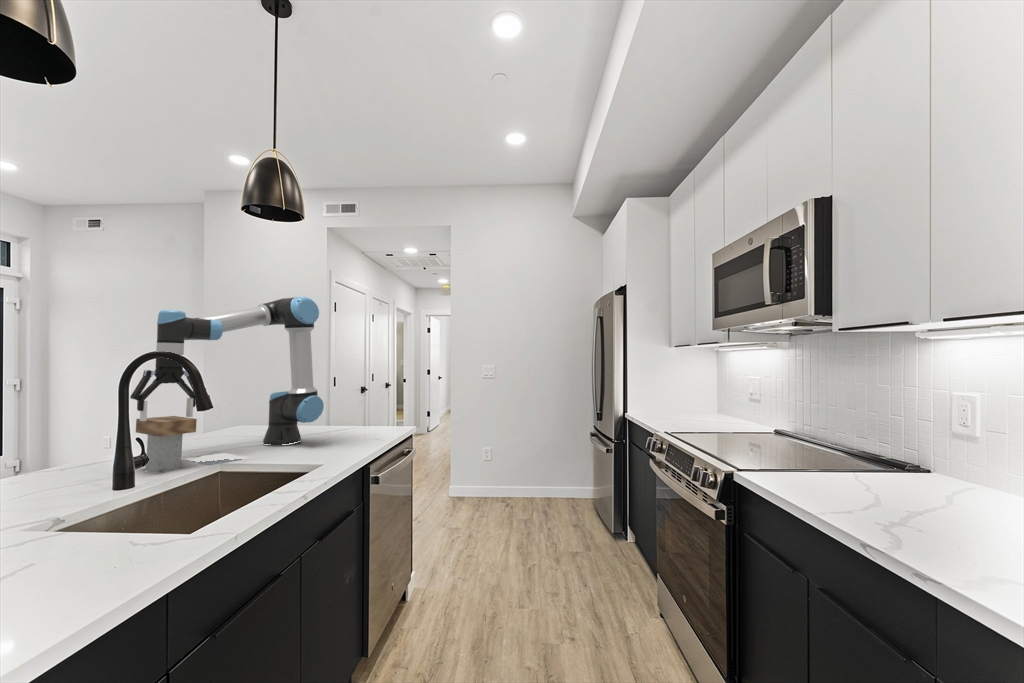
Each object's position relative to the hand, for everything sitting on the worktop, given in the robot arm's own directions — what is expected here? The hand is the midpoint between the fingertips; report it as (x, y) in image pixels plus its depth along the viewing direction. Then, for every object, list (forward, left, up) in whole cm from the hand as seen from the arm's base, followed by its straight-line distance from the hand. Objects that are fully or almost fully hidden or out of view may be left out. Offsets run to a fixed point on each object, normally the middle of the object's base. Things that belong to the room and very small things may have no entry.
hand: (167, 418), depth 154 cm
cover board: (0, 0, -4) cm, 5 cm away
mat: (-18, -2, -17) cm, 25 cm away
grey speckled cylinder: (0, 0, -17) cm, 17 cm away
